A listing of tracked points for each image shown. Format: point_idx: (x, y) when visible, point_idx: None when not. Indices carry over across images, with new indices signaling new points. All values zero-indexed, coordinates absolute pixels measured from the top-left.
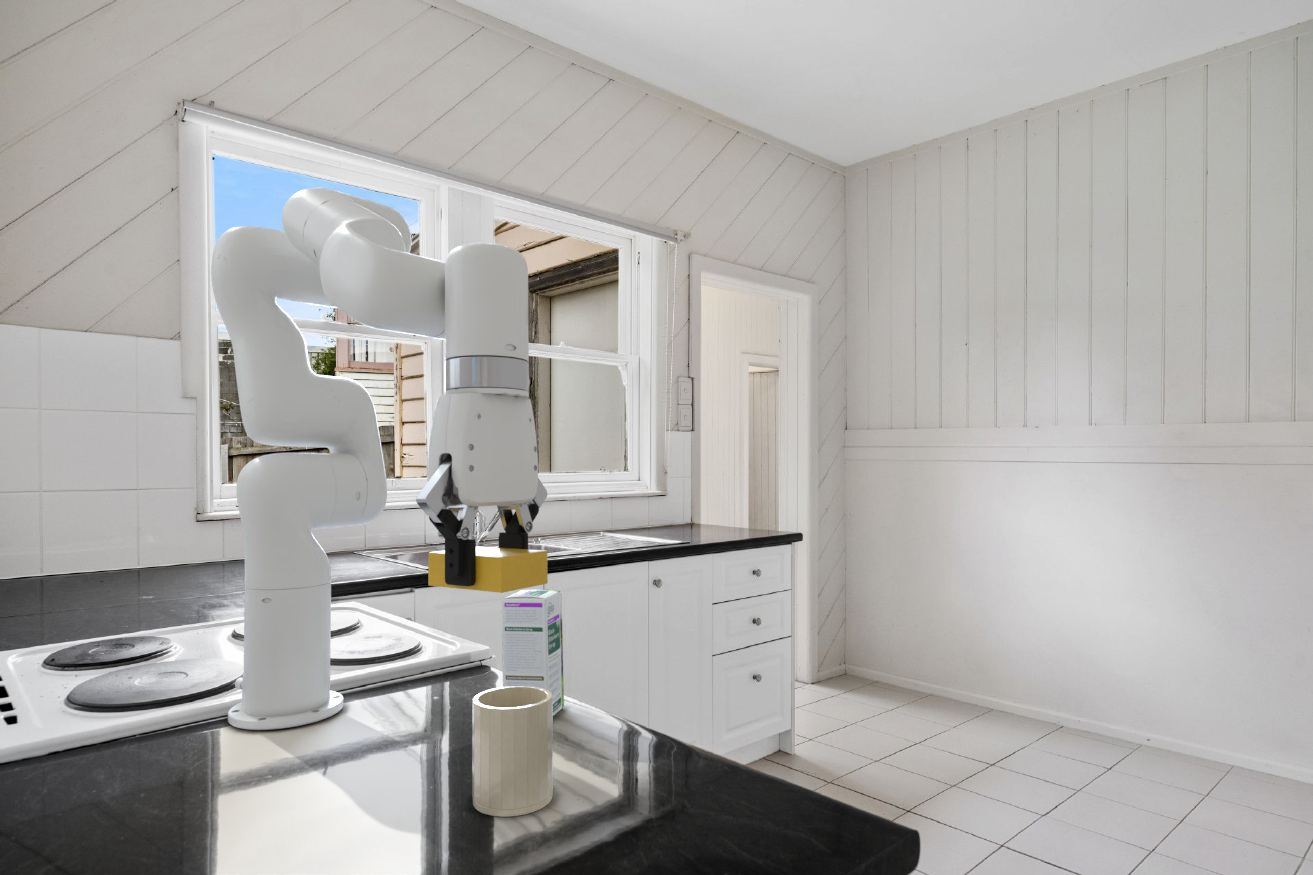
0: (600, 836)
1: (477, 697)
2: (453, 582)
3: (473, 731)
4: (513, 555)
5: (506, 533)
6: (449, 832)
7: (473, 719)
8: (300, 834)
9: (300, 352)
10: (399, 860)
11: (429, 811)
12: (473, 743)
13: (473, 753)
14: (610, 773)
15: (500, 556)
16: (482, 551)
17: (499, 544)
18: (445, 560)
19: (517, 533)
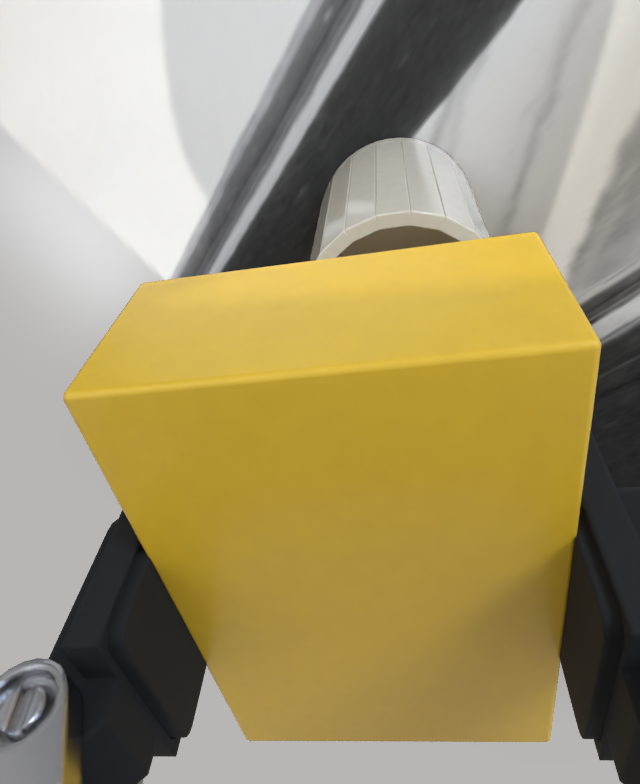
0: None
1: (341, 247)
2: None
3: (317, 239)
4: (319, 740)
5: (621, 671)
6: (245, 232)
7: (314, 252)
8: (31, 15)
9: None
10: (149, 248)
11: (260, 132)
12: (318, 230)
13: (320, 221)
14: (592, 272)
15: (257, 732)
16: (343, 594)
17: (580, 563)
18: (92, 568)
19: (604, 731)
